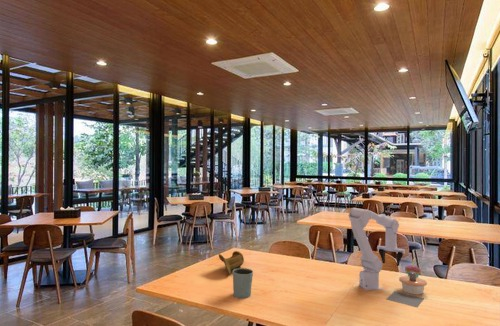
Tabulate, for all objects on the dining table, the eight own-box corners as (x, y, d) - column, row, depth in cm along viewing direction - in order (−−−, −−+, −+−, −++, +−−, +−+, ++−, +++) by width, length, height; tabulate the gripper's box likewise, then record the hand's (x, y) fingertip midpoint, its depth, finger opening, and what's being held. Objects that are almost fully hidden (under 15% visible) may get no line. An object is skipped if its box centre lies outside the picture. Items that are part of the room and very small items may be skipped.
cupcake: (422, 280, 188) (422, 259, 188) (406, 279, 190) (407, 258, 190) (418, 276, 196) (418, 255, 197) (403, 274, 198) (403, 254, 198)
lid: (408, 286, 164) (408, 277, 164) (394, 277, 177) (394, 269, 177) (432, 285, 165) (432, 276, 165) (416, 277, 178) (416, 268, 178)
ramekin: (405, 286, 179) (405, 276, 179) (428, 292, 171) (428, 281, 171) (397, 291, 171) (397, 281, 171) (420, 297, 163) (420, 287, 163)
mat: (417, 308, 150) (417, 307, 150) (385, 300, 159) (385, 299, 159) (424, 299, 161) (424, 298, 161) (394, 291, 170) (394, 291, 170)
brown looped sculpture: (204, 258, 201) (230, 246, 217) (211, 279, 200) (236, 266, 215) (222, 255, 188) (249, 243, 204) (229, 277, 187) (255, 263, 202)
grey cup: (229, 293, 165) (229, 269, 166) (247, 290, 169) (248, 267, 170) (236, 300, 156) (237, 275, 156) (256, 297, 160) (256, 272, 160)
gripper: (406, 240, 182) (406, 265, 182) (380, 237, 192) (380, 260, 191) (403, 242, 177) (403, 268, 177) (375, 238, 186) (375, 262, 186)
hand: (390, 264), depth 184 cm, fingers open, 7 cm apart
